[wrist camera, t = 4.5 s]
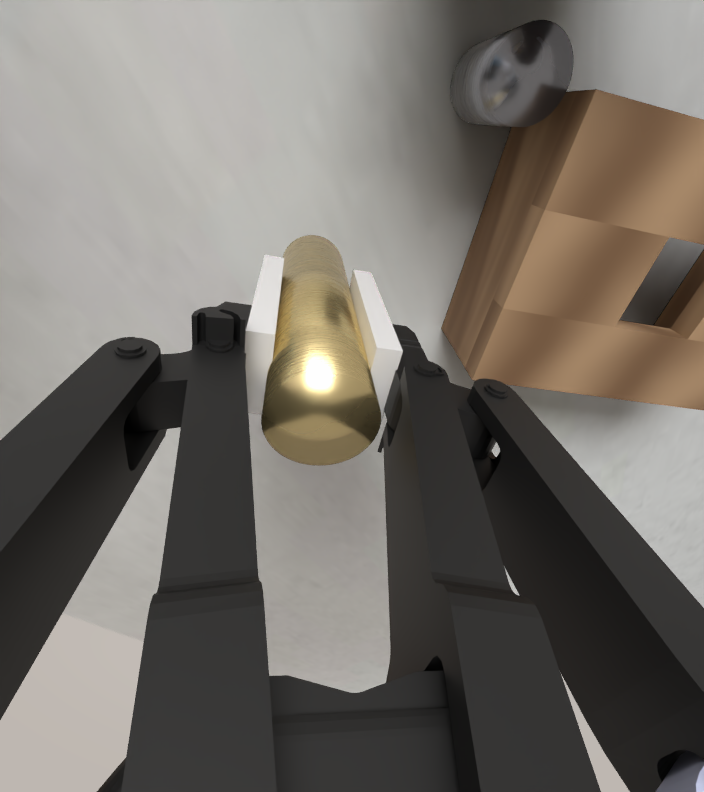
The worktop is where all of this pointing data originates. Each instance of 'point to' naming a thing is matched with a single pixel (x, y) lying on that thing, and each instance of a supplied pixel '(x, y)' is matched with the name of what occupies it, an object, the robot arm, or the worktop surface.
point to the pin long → (318, 363)
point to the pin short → (513, 76)
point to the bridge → (587, 255)
